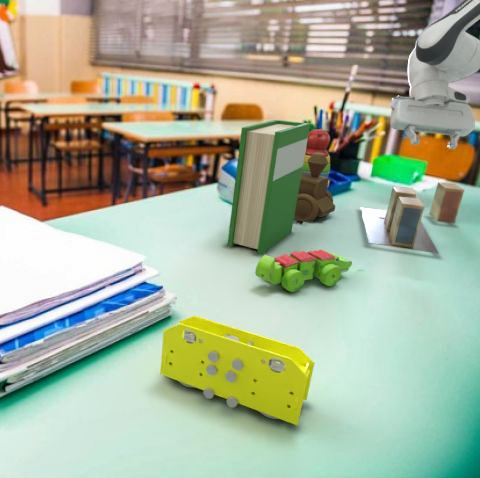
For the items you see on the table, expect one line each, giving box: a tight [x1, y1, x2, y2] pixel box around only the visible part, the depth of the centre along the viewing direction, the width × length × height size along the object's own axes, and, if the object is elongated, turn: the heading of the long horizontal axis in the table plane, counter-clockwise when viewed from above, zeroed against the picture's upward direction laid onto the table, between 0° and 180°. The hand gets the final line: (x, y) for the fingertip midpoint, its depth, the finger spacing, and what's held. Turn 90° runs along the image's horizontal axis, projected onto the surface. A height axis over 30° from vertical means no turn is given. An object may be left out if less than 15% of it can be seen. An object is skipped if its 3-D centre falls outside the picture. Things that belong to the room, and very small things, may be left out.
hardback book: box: [226, 119, 311, 256], centre depth 102 cm, size 18×7×24 cm, turn 143°
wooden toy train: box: [294, 153, 336, 223], centre depth 121 cm, size 20×11×17 cm, turn 47°
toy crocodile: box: [254, 249, 353, 293], centre depth 85 cm, size 20×7×6 cm, turn 111°
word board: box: [360, 207, 439, 254], centre depth 114 cm, size 13×28×1 cm, turn 159°
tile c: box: [429, 181, 465, 224], centre depth 121 cm, size 4×6×9 cm, turn 164°
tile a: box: [384, 185, 417, 230], centre depth 112 cm, size 4×6×9 cm, turn 159°
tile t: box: [389, 196, 425, 248], centre depth 103 cm, size 4×6×9 cm, turn 158°
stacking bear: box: [302, 128, 331, 178], centre depth 143 cm, size 11×10×18 cm
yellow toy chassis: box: [160, 315, 315, 426], centre depth 56 cm, size 16×6×8 cm, turn 60°
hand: (434, 145), depth 126 cm, fingers open, 8 cm apart
